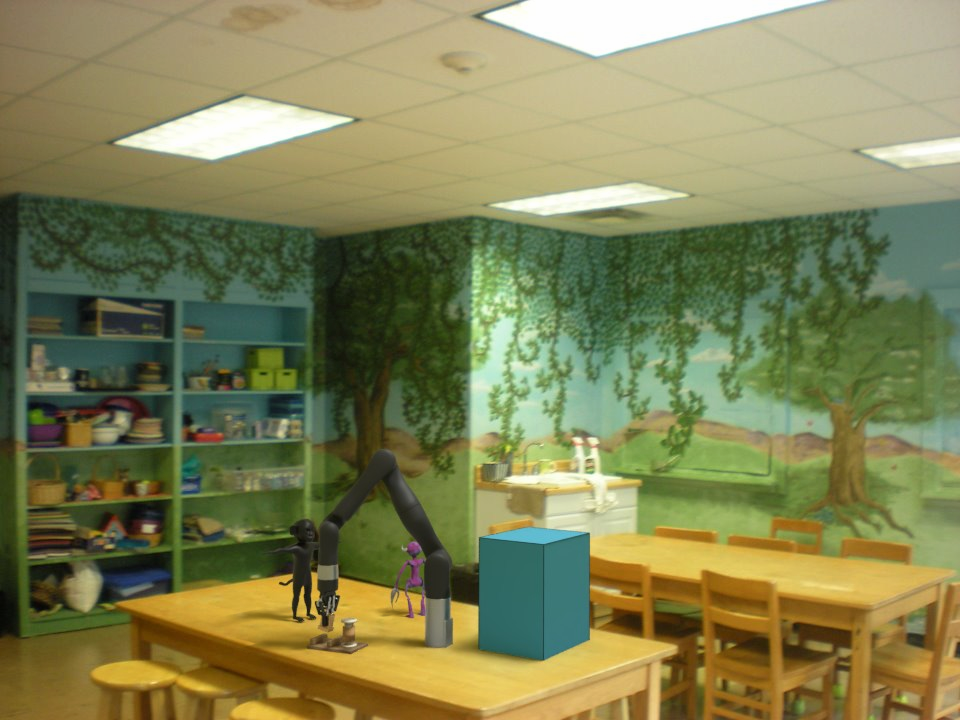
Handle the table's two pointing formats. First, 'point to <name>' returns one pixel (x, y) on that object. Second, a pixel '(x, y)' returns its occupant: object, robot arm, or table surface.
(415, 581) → the toy
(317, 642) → the board
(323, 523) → the robot arm
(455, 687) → the table surface
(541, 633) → the box
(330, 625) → the tan wooden block
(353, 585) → the table surface
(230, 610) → the table surface
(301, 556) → the monkey
